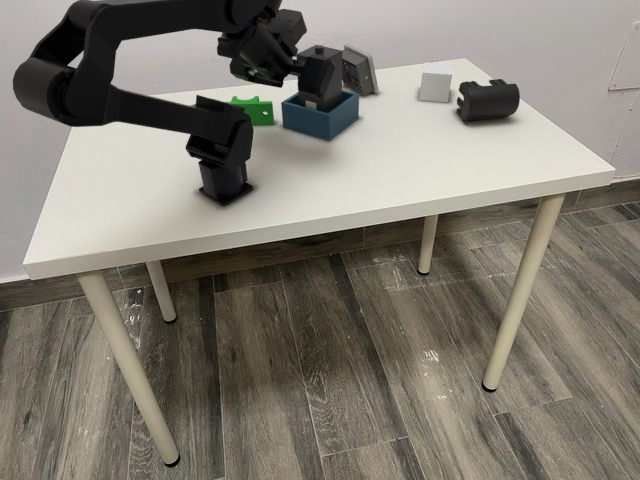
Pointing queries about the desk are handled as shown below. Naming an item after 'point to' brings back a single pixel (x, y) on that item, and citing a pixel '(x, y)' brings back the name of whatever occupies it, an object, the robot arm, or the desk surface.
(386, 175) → the desk surface
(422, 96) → the white cube
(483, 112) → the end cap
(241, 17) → the robot arm
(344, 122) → the compartment
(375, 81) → the electrical switch
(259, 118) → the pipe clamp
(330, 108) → the tower
